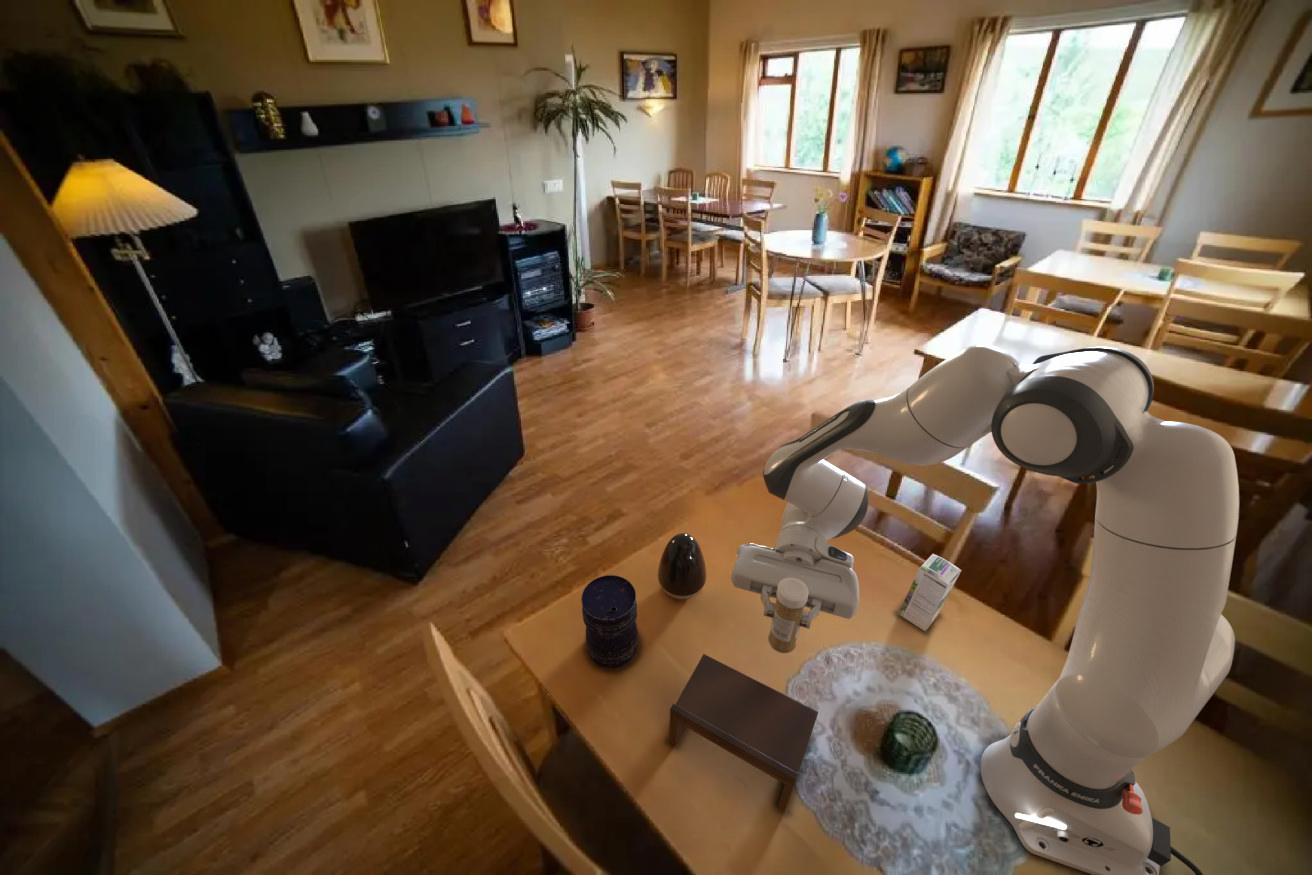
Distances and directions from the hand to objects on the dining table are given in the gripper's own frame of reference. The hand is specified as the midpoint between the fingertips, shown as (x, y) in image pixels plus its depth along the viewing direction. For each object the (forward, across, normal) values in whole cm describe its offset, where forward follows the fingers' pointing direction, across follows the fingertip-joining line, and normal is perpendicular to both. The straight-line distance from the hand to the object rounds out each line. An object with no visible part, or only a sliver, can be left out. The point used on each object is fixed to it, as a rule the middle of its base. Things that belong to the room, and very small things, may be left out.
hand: (786, 619), depth 82 cm
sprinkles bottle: (-1, 0, +7) cm, 7 cm away
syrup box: (-27, +25, +22) cm, 43 cm away
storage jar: (+1, -30, +22) cm, 37 cm away
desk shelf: (+10, -3, +22) cm, 24 cm away
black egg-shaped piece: (-17, -22, +22) cm, 36 cm away
